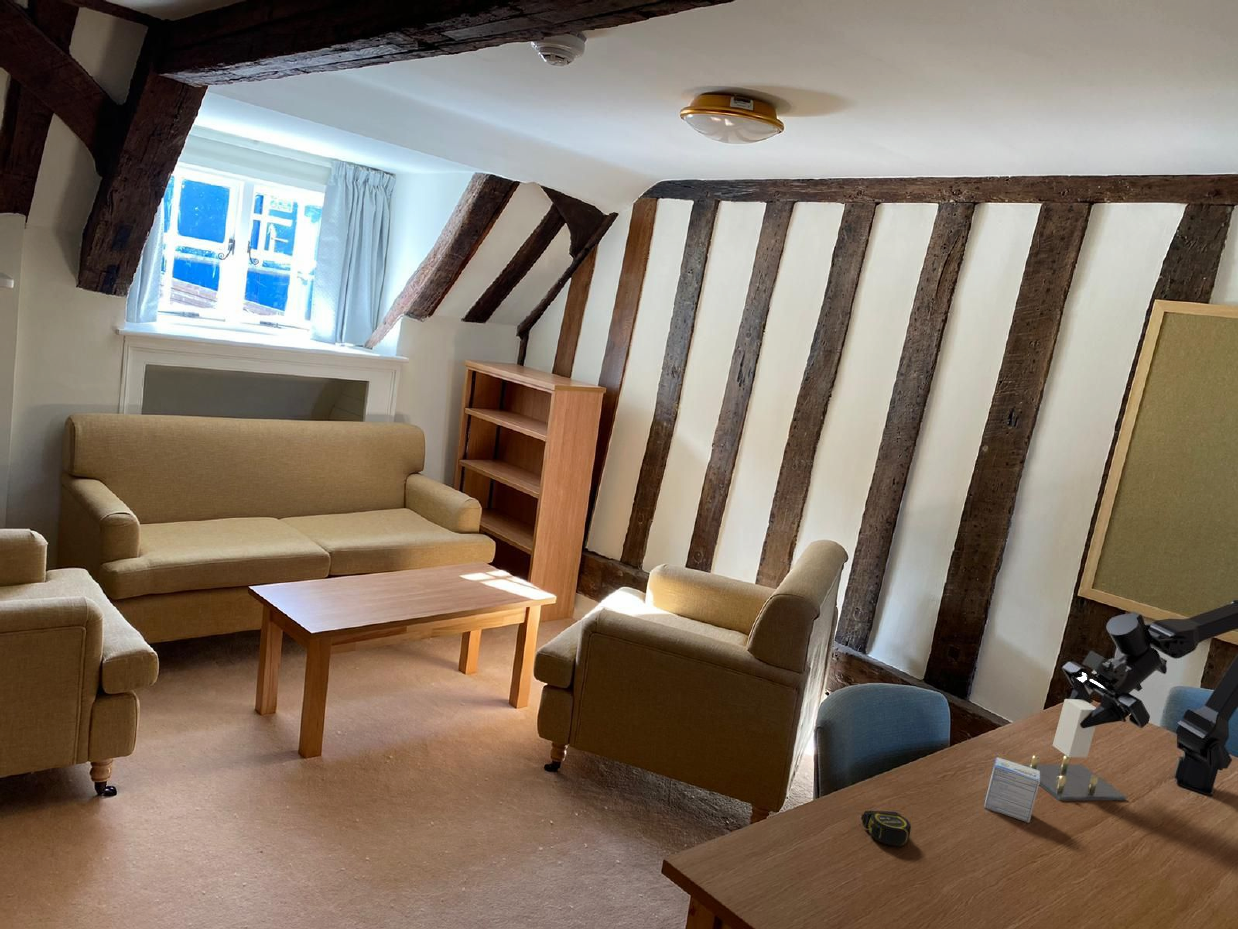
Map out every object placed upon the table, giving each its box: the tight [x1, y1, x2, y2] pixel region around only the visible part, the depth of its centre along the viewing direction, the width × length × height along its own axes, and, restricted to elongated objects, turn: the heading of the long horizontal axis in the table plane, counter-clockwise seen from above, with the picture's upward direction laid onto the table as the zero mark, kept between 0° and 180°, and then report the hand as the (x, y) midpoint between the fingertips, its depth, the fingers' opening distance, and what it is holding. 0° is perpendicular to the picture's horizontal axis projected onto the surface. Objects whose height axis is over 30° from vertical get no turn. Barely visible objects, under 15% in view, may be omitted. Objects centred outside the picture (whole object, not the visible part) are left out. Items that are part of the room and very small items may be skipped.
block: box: [1052, 698, 1097, 758], centre depth 189 cm, size 4×4×10 cm
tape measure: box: [860, 810, 912, 847], centre depth 160 cm, size 7×7×4 cm
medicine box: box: [983, 756, 1040, 823], centre depth 175 cm, size 8×4×9 cm, turn 65°
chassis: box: [1022, 754, 1128, 802], centre depth 191 cm, size 16×12×4 cm
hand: (1072, 720), depth 188 cm, fingers closed on block, 4 cm apart
